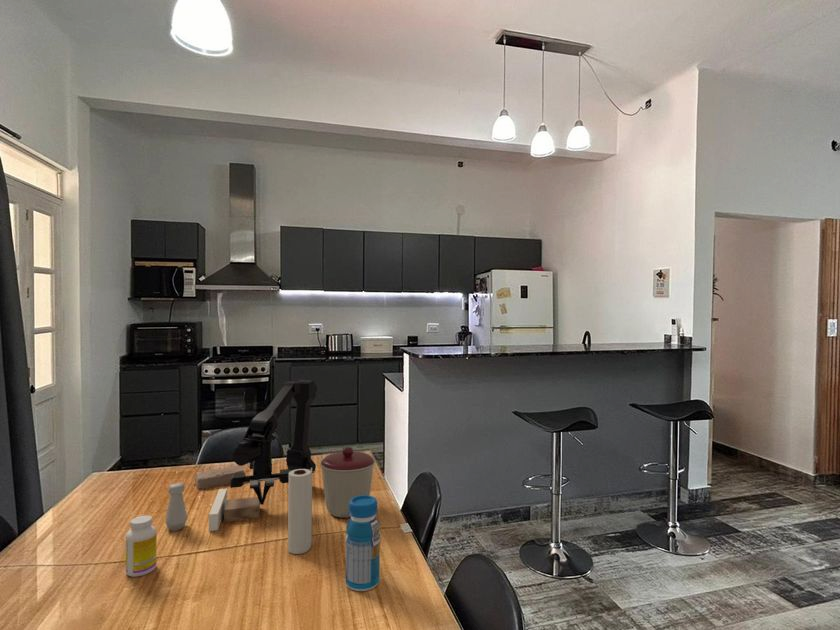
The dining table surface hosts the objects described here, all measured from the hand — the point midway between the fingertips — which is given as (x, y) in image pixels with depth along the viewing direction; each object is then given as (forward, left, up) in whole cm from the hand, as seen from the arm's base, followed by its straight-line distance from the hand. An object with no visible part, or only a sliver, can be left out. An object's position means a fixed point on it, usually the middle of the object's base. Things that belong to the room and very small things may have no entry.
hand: (262, 504), depth 150 cm
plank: (+13, 0, -3) cm, 13 cm away
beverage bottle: (-26, +47, -3) cm, 54 cm away
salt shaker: (+24, +5, -3) cm, 25 cm away
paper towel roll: (-12, +27, -3) cm, 30 cm away
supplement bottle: (+27, +28, -3) cm, 39 cm away
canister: (-27, +6, -3) cm, 28 cm away
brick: (+17, -32, -3) cm, 36 cm away
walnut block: (+6, 0, -3) cm, 7 cm away
